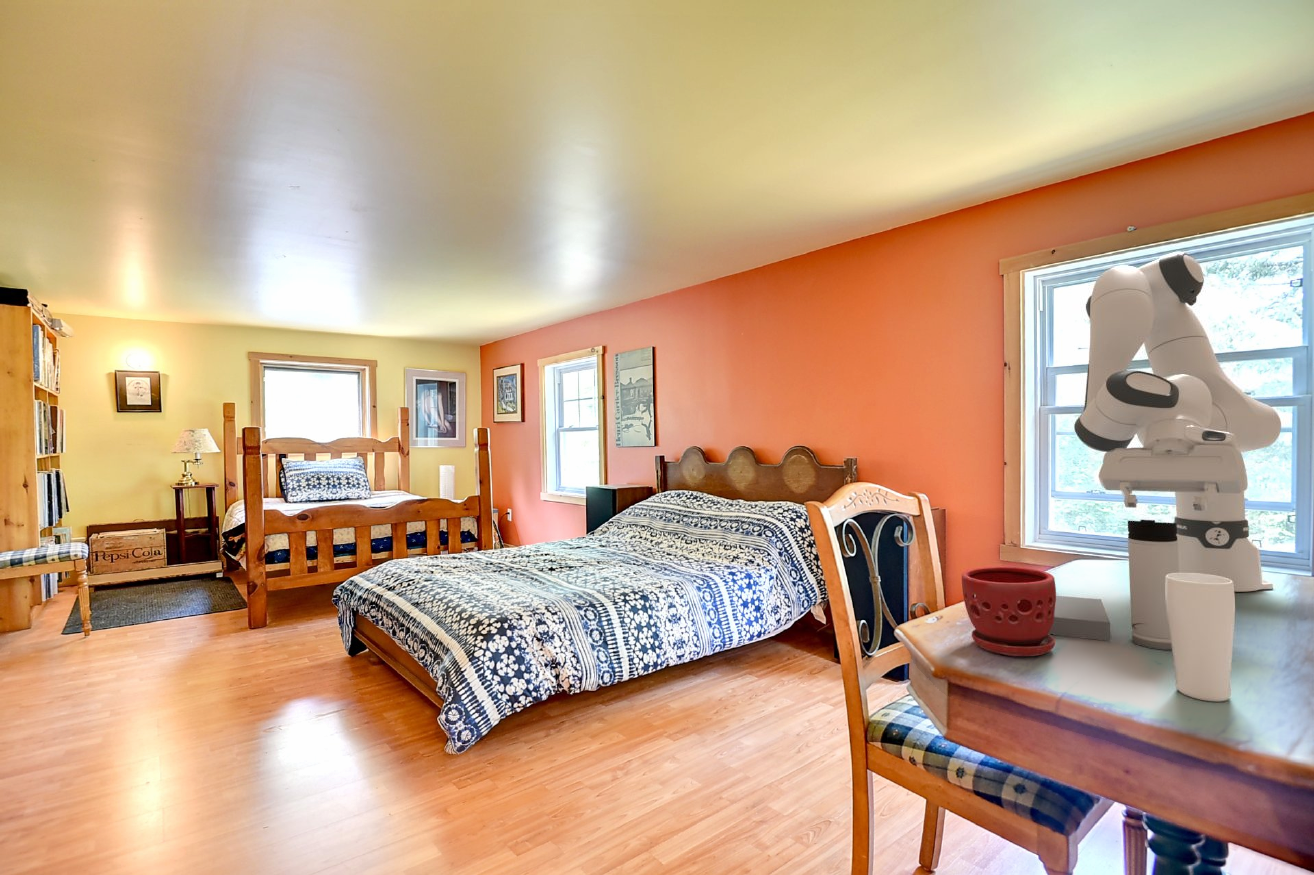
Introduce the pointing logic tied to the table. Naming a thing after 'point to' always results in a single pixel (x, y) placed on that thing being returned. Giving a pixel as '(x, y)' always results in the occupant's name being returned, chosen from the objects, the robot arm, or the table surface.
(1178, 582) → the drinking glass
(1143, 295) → the robot arm
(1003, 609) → the plant pot
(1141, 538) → the travel mug
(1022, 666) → the table surface
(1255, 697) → the table surface
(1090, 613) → the gray rectangular block
